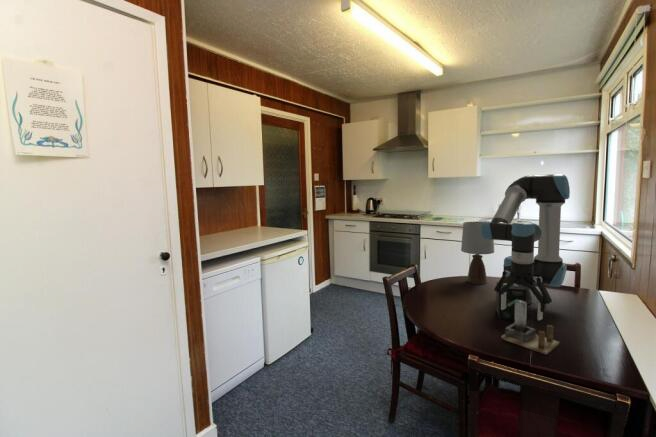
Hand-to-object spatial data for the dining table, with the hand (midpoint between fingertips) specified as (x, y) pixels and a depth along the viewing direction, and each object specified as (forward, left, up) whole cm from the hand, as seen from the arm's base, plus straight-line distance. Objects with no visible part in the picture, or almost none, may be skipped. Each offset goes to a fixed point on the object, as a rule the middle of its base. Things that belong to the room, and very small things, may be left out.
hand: (520, 314), depth 129 cm
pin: (0, 0, -9) cm, 9 cm away
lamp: (-49, +56, -10) cm, 75 cm away
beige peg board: (+4, 0, -10) cm, 11 cm away
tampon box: (-12, +19, -10) cm, 25 cm away
